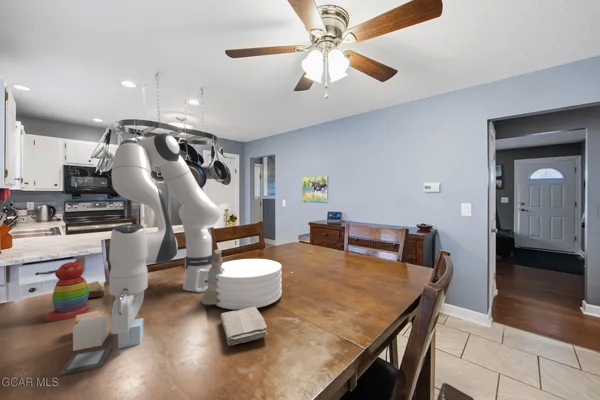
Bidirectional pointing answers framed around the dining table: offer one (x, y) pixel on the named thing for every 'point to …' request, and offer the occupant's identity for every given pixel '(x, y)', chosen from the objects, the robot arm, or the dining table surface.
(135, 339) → the pale blue block
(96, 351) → the tile
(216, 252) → the figurine
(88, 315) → the terracotta block
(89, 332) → the cream block
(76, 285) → the stacking bear
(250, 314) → the washcloth
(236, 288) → the plate stack
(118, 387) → the dining table surface
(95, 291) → the rock
